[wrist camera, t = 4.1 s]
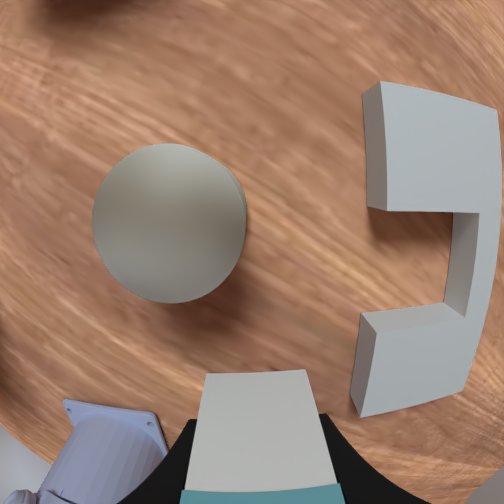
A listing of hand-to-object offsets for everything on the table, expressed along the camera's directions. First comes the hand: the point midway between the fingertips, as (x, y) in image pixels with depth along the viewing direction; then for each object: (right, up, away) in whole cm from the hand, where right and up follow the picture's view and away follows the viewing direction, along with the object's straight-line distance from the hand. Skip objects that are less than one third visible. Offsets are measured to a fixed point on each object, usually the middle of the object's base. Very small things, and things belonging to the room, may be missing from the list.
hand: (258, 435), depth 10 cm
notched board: (+10, +7, +5) cm, 13 cm away
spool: (-3, +9, +5) cm, 11 cm away
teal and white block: (0, 0, +2) cm, 2 cm away
